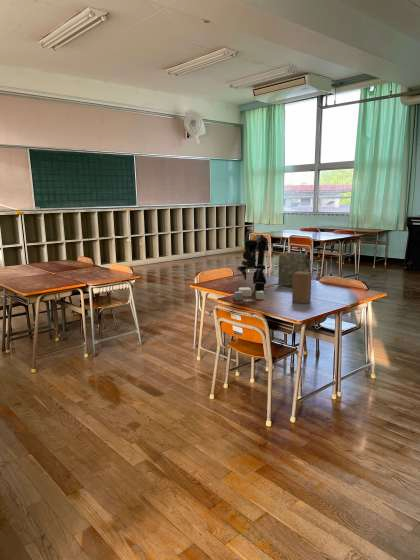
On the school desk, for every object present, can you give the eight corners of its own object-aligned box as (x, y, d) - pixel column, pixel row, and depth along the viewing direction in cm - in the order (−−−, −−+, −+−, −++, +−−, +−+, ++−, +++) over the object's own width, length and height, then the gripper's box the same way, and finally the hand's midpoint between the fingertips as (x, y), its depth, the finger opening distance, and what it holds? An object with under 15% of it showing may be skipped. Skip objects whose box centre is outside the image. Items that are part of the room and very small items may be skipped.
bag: (310, 285, 330) (312, 251, 325) (303, 289, 317) (304, 253, 312) (284, 282, 343) (285, 249, 337) (276, 286, 330) (277, 251, 324)
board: (253, 299, 286) (253, 299, 286) (255, 301, 280) (256, 301, 280) (242, 300, 285) (242, 299, 285) (244, 302, 279) (244, 301, 279)
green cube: (262, 297, 292) (262, 290, 291) (264, 299, 287) (264, 292, 286) (255, 298, 291) (255, 291, 291) (257, 299, 287) (257, 292, 286)
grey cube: (241, 298, 291) (241, 291, 290) (242, 299, 286) (242, 292, 285) (234, 298, 291) (234, 291, 290) (235, 300, 286) (235, 293, 285)
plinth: (249, 294, 304) (249, 287, 303) (251, 296, 297) (251, 289, 296) (238, 294, 304) (238, 287, 303) (240, 296, 296) (240, 290, 295)
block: (306, 304, 272) (307, 274, 268) (291, 302, 277) (292, 273, 273) (310, 301, 281) (312, 272, 277) (296, 299, 286) (297, 270, 282)
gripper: (259, 255, 298) (258, 277, 301) (234, 257, 292) (234, 278, 295) (265, 257, 287) (265, 279, 290) (240, 259, 282) (240, 281, 285)
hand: (251, 279), depth 291 cm, fingers open, 9 cm apart
